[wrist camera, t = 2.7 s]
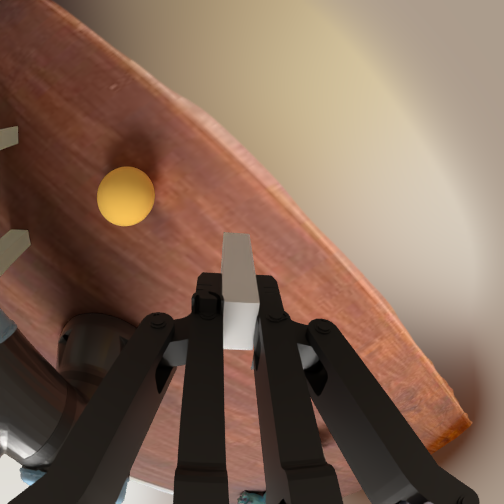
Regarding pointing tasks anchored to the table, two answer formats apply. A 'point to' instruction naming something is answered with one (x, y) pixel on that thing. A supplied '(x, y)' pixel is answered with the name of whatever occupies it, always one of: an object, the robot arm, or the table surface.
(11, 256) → the bridge
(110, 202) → the ball
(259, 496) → the figurine
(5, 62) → the table surface
